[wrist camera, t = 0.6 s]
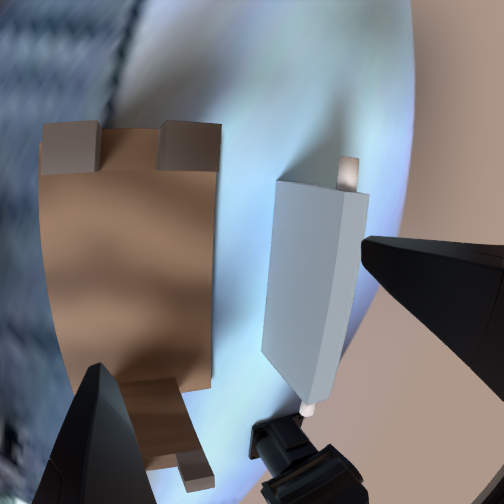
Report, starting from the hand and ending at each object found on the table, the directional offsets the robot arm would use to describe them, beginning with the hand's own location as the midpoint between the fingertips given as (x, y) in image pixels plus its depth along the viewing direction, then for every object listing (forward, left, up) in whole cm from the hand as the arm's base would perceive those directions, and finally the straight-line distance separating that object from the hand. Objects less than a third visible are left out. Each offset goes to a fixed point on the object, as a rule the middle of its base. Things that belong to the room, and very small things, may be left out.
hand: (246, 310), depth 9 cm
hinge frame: (-4, +3, -13) cm, 14 cm away
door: (-4, -9, -14) cm, 17 cm away
